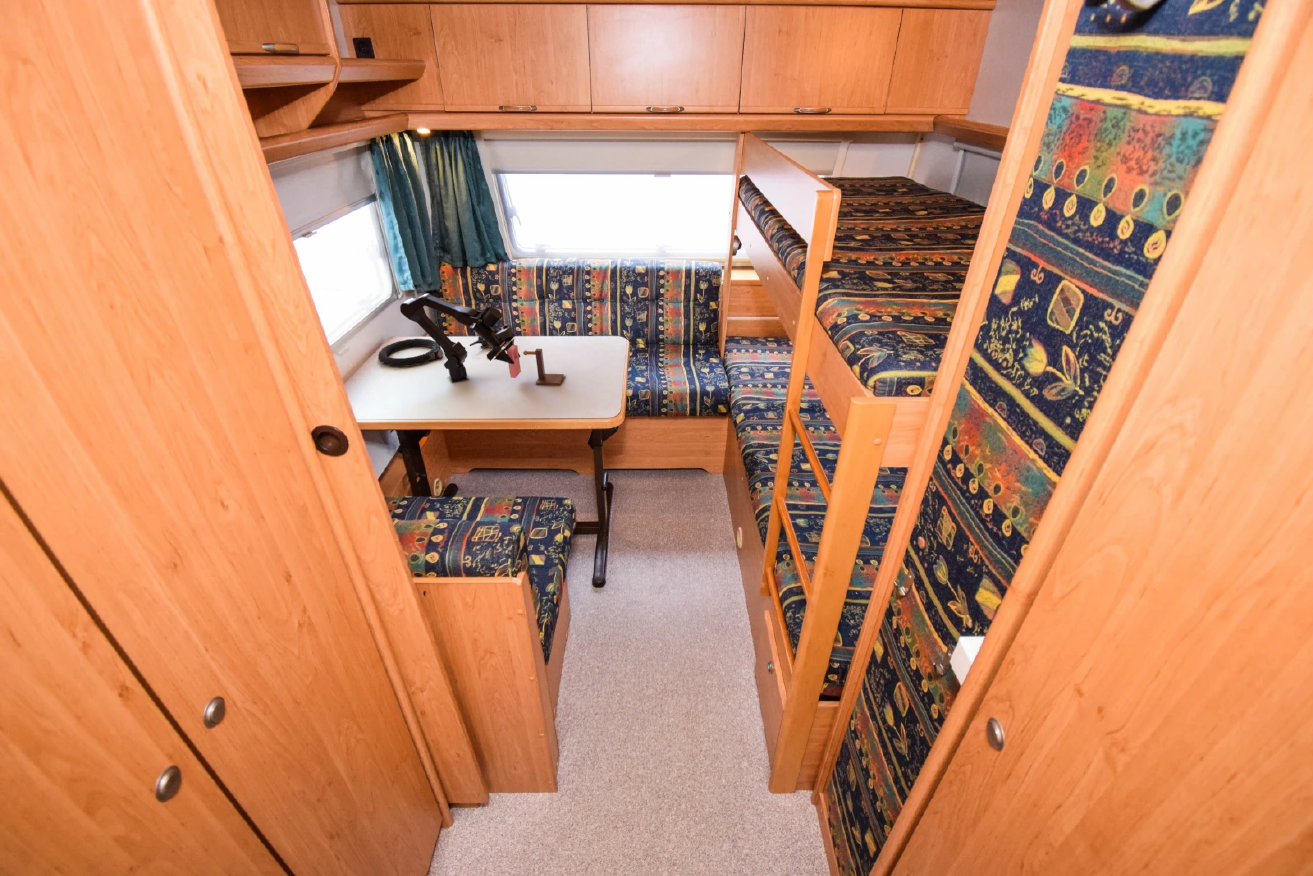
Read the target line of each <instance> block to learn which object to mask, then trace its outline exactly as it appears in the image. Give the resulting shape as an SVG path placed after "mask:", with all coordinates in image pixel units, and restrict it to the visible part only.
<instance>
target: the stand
mask: <svg viewBox="0 0 1313 876" xmlns="http://www.w3.org/2000/svg"><path fill="white" fill-rule="evenodd" d="M522 354H523V355H524V356H527V355H528V356H529V355H530V356H535V362H536V369H537V376H538V378H537V380H536V382H535V385H536V386H561V384H562V382H563V380H564V377H565V373H546V370H545V362H544V354H543V348H536V349H535V350H532V351H531V350H523V352H522Z"/></svg>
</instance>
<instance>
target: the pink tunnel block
mask: <svg viewBox="0 0 1313 876" xmlns="http://www.w3.org/2000/svg"><path fill="white" fill-rule="evenodd" d="M518 353H519V348H518V345H517V344H514V345H512V346H511V347H510V348H509V349H508V350H507V351H506V354H507V355H508V356H509V357H510V358H511V359H512V360H513V361H514V362H515V363H514V364H510V363H507V364H508V369H509V376H510V378H512V379H516V378H517V377H518V376H519V374H520V373H522V369H521V362H520V358H519V354H520V353H519V354H518Z"/></svg>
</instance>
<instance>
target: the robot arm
mask: <svg viewBox="0 0 1313 876" xmlns="http://www.w3.org/2000/svg"><path fill="white" fill-rule="evenodd" d="M424 307H427V308H430V309H433V310H435V311H437V312H440V313H442V314H445V315H447V316H449V317H452V318H454V320H456V322H458V323H460V324H461V325H463V326H465V327H468V328H469V334H470V335H472V334H473V333H476V335H478V337H479V336H480V337H481V338H483V339H484V340H485V341H484V343H485V344H486V343H488V344H489V345H490V346H489V347H491V349H490V350H489V352H488V353H487V354H486V359H487V360H489V361H490V362H491V361H493V360H494V361H495V360H496V361H500V362H504V363H507V364H508V363H510V364H514V363H515V362H514V361H513V360H512V359H511V358H510V357H509V356H508V355H507V350H508V349H509V348H510V347H511V346H512V345H515V337H516V334H515V333H514V331H513V327H512V326H510V325H509V324H505V325H503V326H502V329H501V330H499V329H493V328H494V327H495V326H496V325H497V324H498V323H499V322H500V321H501V319H503V313H502V312H501V311H500V309H498V308H495V307H492V306H491V305H488V306H486V307H485V309H484V311H482V310H477V309H475V308H473V307H469V306H461V305H456V304H453V303H451V302H448V301H446V300H443V299H441V298H438V297H436V296H434V295H432V294H430V293H424V294H423V295H421V296H418V297H416V298H414V297H413V298H408V299H407V300H405V301H404V302H403V303H401V304H400V306H399V312H400V313H401V315H402V316H404V317H405V318H406V319H407V320H410V321H412V322H414V323H417V324H418V326H420V328H422V330H423V331H424V332H425V333H426V334H427V335H428V336H429V337H430V338H431V339H432V341H435V342H436V343H437V344H438V345H439V346H440V348H441V350H442V352H443V355H444V356H445V358H446V361H445V362H444V363H443V366H444V368H445V369H446V370H448V378H449V380H450V381H451V383H457V382H462V381H466V380H468V373H467V368H466V366H465V365H464V363H465V361H466V359H467V358H468V350H467V349H466V347H465V346H464V345H463V344H462V343H461V342H460V341H457V342H454V341H452V340H451V339H450V338H449V337H448V336H447V335H446V334H445V333H444V332H443V331H442V329H441V328H440V327H438V325H436V323H435V322H434V321H433V320H431V318H430V317H429V316H428V315H427V313H426V310H425V308H424ZM518 354H519V359H520V358H521V354H520V353H519V352H518Z"/></svg>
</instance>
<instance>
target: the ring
mask: <svg viewBox="0 0 1313 876" xmlns="http://www.w3.org/2000/svg"><path fill="white" fill-rule="evenodd" d="M410 347H411V348H413V347H426V348H431V349H430V350H429V351H427V352H425V353H422V354H419V355H416V356H410V357H399V358H395V357H389V356H388V355H390V354H391V353H393V352H395V351H398V350H400V349H401V350H402V349H405V348H410ZM443 355H444V351H443V349H442V348H441V347H440V346H439V345H438V344H437V343H436V342H435V341H434V340H433V339H430V338H429V339H428V338H408V339H405V340H398V341H396V342H393V343H390V344H387V345H385V346H384V347H382V348H381V350H380V351H378V354H377V356H378V360H379V361H380V363H383V364H384V365H388V366H391V367H407V366H408V367H409V366H415V365H418V364H419V365H420V364H423V363H425V362H429V361H433V360H434V359H436V360H439V359H442V358H443Z"/></svg>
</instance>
